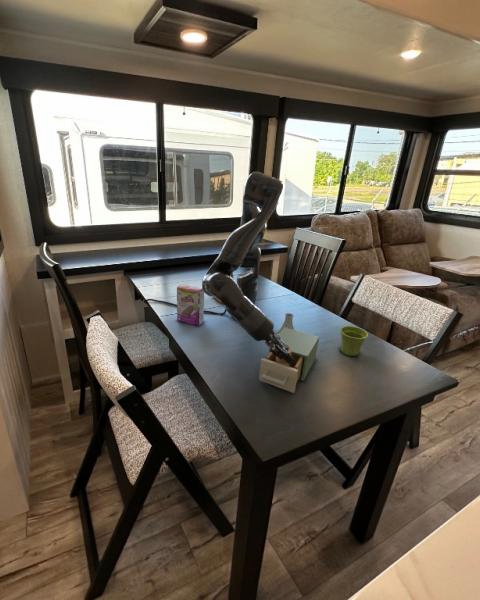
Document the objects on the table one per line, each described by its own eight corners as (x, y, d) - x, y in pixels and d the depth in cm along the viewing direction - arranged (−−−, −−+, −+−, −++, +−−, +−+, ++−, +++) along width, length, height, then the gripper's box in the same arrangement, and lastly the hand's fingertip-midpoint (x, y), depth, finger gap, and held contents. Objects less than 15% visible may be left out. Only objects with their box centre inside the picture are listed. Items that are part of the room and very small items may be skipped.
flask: (285, 342, 123) (288, 320, 119) (273, 334, 129) (276, 312, 125) (299, 338, 126) (302, 316, 122) (287, 330, 132) (290, 309, 128)
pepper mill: (272, 371, 99) (275, 347, 95) (277, 364, 102) (280, 340, 99) (286, 376, 97) (289, 351, 93) (290, 369, 100) (294, 345, 97)
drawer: (288, 402, 90) (292, 380, 87) (252, 388, 96) (254, 367, 93) (306, 370, 105) (309, 351, 102) (274, 360, 110) (276, 341, 107)
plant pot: (361, 361, 112) (366, 341, 108) (333, 353, 116) (338, 333, 113) (364, 350, 119) (369, 330, 116) (338, 343, 124) (343, 323, 120)
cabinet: (303, 381, 101) (307, 356, 97) (267, 368, 107) (269, 344, 103) (314, 359, 112) (319, 336, 109) (281, 349, 118) (284, 327, 115)
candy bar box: (176, 321, 138) (175, 287, 132) (182, 316, 143) (181, 283, 136) (199, 326, 134) (199, 291, 128) (204, 322, 138) (204, 287, 132)
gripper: (268, 325, 85) (306, 363, 90) (260, 304, 98) (293, 338, 103) (247, 342, 87) (285, 377, 92) (242, 318, 100) (275, 351, 105)
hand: (289, 356), depth 97 cm, fingers closed on pepper mill, 4 cm apart
